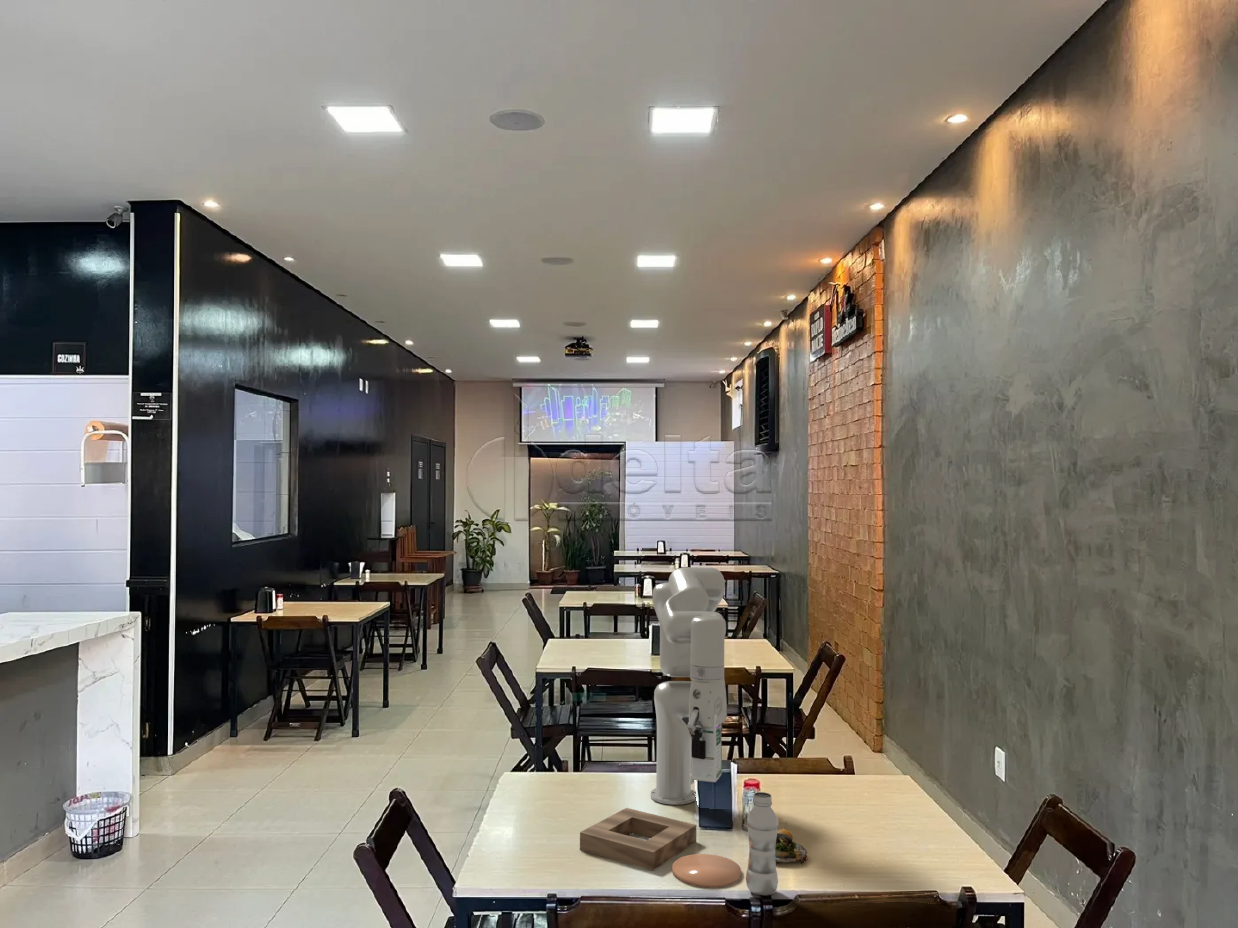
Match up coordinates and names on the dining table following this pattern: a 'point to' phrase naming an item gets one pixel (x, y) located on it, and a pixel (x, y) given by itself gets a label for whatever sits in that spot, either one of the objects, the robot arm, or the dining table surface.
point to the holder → (650, 854)
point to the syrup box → (709, 756)
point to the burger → (788, 848)
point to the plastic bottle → (762, 846)
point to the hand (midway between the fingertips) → (706, 753)
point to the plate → (706, 870)
